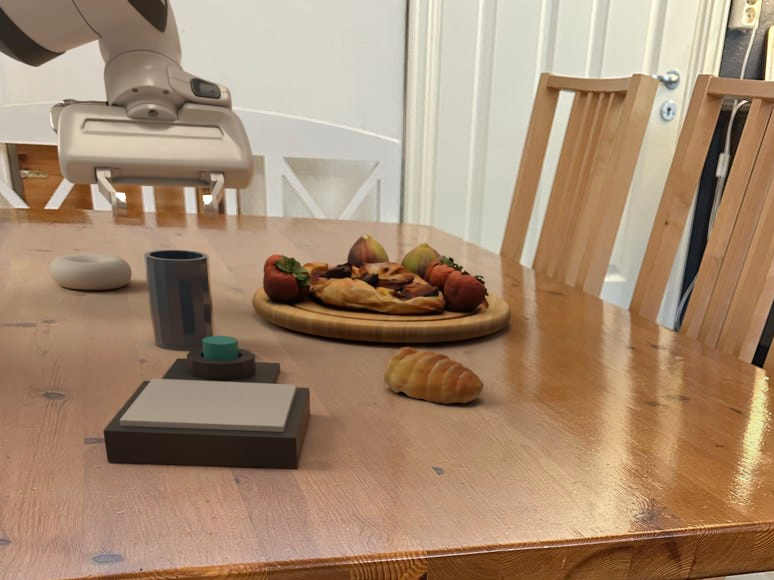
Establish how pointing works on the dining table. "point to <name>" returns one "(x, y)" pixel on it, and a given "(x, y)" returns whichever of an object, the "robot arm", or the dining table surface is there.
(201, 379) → the pad
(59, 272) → the donut
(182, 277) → the cup
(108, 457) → the scale
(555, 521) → the dining table surface
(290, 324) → the wooden plate
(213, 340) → the tare button
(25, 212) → the dining table surface
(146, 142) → the robot arm
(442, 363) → the pastry
